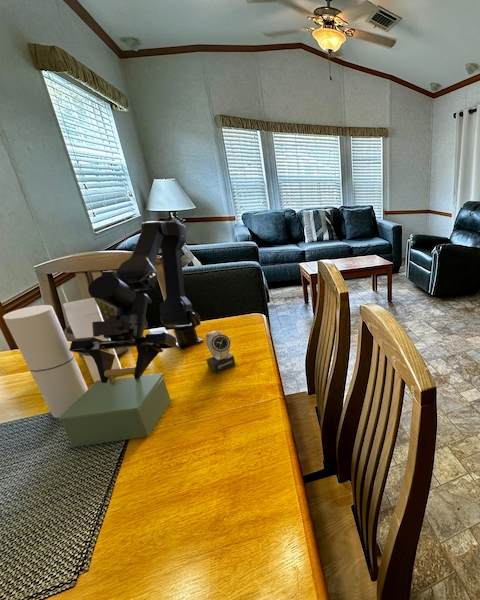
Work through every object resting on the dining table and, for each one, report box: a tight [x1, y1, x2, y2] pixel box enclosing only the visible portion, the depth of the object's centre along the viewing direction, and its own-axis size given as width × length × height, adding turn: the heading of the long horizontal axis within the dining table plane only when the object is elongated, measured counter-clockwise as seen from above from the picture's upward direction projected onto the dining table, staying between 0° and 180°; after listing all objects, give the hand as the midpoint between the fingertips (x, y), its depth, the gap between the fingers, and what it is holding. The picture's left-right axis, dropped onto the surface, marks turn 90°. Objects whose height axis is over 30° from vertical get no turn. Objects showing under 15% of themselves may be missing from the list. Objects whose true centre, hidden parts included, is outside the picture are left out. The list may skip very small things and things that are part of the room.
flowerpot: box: [63, 299, 130, 360], centre depth 97 cm, size 14×15×20 cm
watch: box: [205, 330, 236, 375], centre depth 91 cm, size 6×8×11 cm
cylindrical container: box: [2, 304, 89, 419], centre depth 73 cm, size 7×7×25 cm
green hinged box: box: [59, 377, 172, 448], centre depth 72 cm, size 12×14×7 cm
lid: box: [58, 366, 165, 421], centre depth 70 cm, size 12×14×4 cm
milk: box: [62, 297, 122, 384], centre depth 87 cm, size 6×6×22 cm
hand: (120, 381), depth 72 cm, fingers closed on lid, 6 cm apart
